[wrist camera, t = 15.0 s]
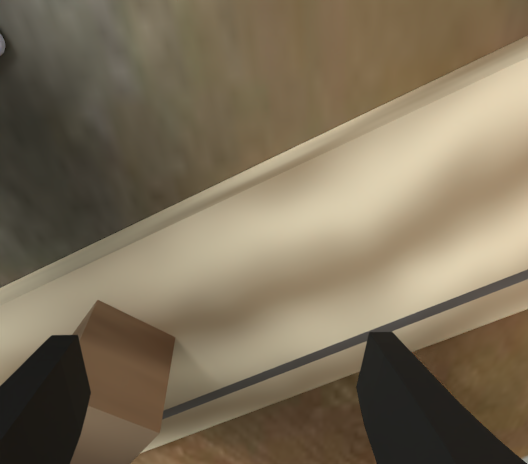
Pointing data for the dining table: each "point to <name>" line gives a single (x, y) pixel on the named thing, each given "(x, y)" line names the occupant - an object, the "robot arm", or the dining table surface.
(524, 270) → the pine board
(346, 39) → the dining table surface
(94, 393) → the block
